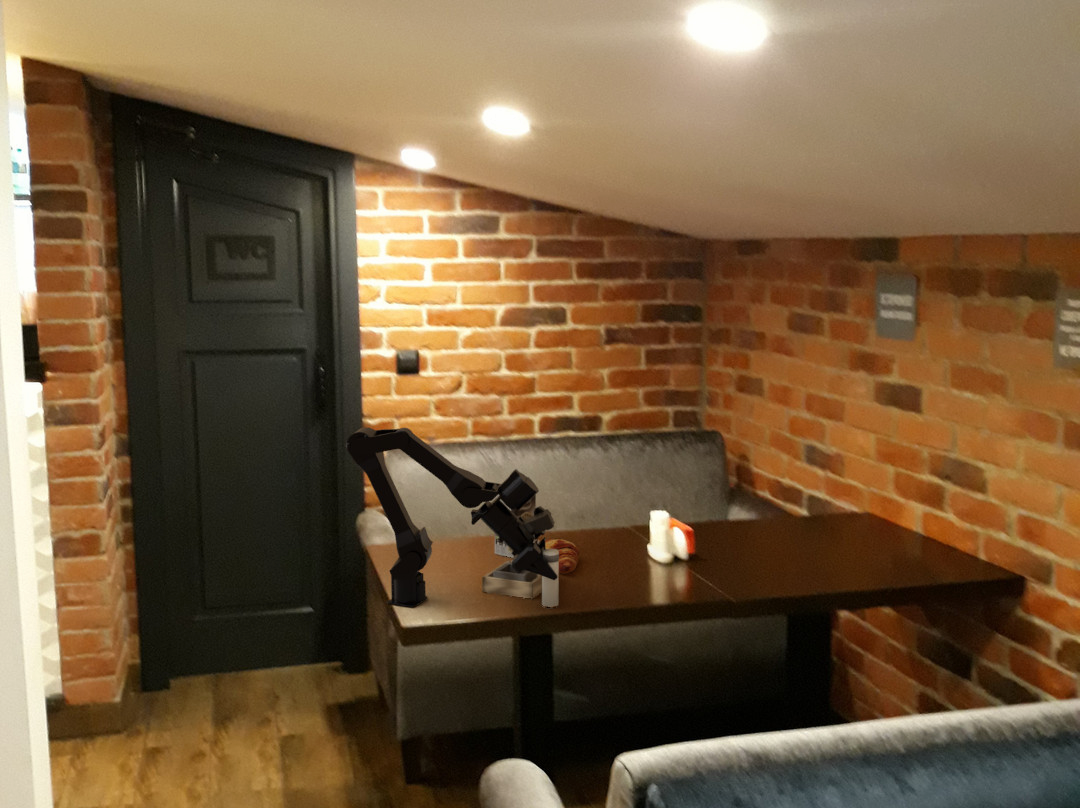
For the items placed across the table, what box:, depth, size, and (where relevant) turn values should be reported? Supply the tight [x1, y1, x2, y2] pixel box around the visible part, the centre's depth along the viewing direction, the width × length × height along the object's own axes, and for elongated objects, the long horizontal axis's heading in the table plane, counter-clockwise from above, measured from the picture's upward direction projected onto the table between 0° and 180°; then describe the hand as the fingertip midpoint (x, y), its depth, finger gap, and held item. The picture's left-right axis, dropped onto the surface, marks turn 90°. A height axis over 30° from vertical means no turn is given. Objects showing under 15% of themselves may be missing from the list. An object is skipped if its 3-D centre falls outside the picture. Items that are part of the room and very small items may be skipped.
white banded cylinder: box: [541, 549, 560, 607], centre depth 227 cm, size 4×4×12 cm
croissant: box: [545, 538, 580, 575], centre depth 256 cm, size 21×10×8 cm, turn 14°
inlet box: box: [481, 559, 542, 600], centre depth 240 cm, size 12×14×5 cm
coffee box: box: [494, 494, 537, 559], centre depth 265 cm, size 9×6×16 cm
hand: (556, 575), depth 227 cm, fingers closed on white banded cylinder, 3 cm apart
